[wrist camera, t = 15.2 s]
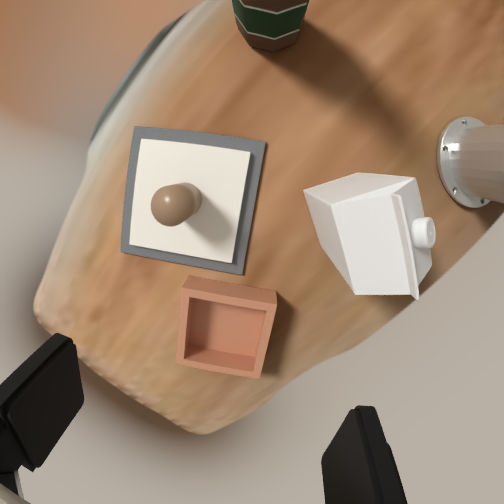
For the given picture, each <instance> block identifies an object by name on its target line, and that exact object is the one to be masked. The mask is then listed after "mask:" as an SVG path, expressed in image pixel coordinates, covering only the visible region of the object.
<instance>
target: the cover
mask: <svg viewBox="0 0 504 504" xmlns="http://www.w3.org/2000/svg"><path fill="white" fill-rule="evenodd" d="M250 153H251V152H247V151H240V150H234V149H227V148H221V147H213V146H206V145H198V144H190V143H181V142H172V141H162V140H151V139H141V143H140V150H139V156H138V163H137V171H136V178H135V187H134V196H133V205H132V216H131V228H130V242H129V244H130V245H136V246H141V247H146V248H151V249H157V250H162V251H168V252H173V253H178V254H184V255H189V256H195V257H200V258H206V259H211V260H217V261H222V262H228V263H232V259H233V253H234V247H235V241H236V235H237V229H238V223H239V217H240V211H241V205H242V199H243V193H244V187H245V182H246V176H247V170H248V165H249V159H250Z"/></svg>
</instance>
